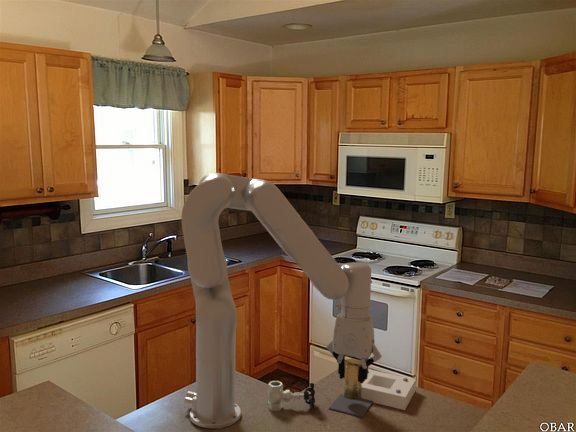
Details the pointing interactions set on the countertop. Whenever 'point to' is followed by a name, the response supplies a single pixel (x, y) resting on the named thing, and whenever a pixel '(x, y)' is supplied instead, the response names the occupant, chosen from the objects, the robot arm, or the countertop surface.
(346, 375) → the brass domed cylinder
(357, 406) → the mat
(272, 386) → the valve
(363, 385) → the plate
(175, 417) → the countertop surface
